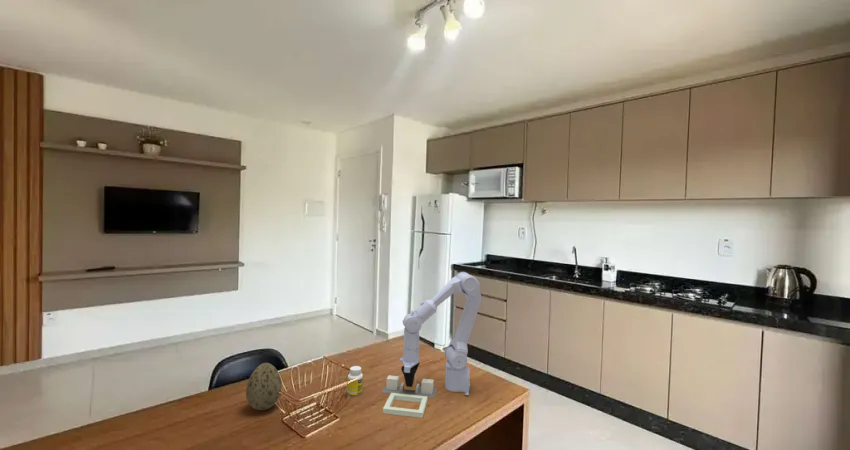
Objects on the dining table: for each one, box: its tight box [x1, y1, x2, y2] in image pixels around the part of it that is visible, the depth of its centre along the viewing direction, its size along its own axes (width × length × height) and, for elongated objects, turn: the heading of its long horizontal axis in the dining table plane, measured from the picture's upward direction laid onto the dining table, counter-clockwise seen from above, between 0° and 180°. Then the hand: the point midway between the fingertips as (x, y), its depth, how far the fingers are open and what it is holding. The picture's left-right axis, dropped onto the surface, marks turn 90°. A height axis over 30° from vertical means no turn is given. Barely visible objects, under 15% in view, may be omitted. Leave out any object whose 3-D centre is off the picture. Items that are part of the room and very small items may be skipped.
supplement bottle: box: [346, 365, 364, 397], centre depth 133 cm, size 5×5×10 cm
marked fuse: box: [403, 370, 418, 390], centre depth 136 cm, size 4×3×6 cm
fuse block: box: [381, 374, 438, 399], centre depth 136 cm, size 19×8×5 cm, turn 81°
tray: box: [382, 393, 429, 419], centre depth 124 cm, size 13×11×2 cm
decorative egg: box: [245, 362, 283, 411], centre depth 122 cm, size 11×11×15 cm
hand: (410, 384), depth 136 cm, fingers closed on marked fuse, 3 cm apart
